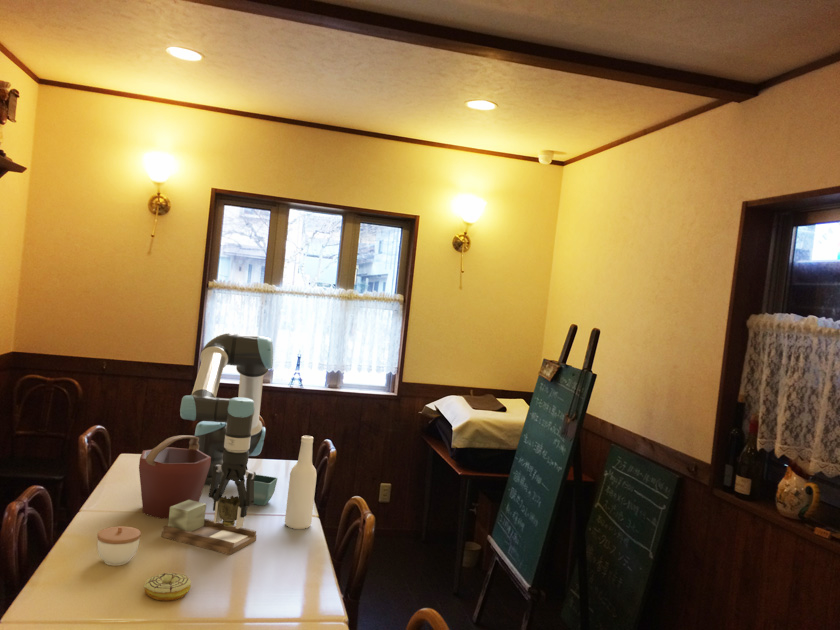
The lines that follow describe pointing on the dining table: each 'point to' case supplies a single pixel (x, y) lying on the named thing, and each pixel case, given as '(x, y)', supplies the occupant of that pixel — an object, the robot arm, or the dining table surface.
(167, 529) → the brown wooden tray
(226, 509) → the cup
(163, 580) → the decorated donut
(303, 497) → the alcohol
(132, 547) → the lidded jar
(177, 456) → the bucket
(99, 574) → the dining table surface
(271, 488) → the flower pot
